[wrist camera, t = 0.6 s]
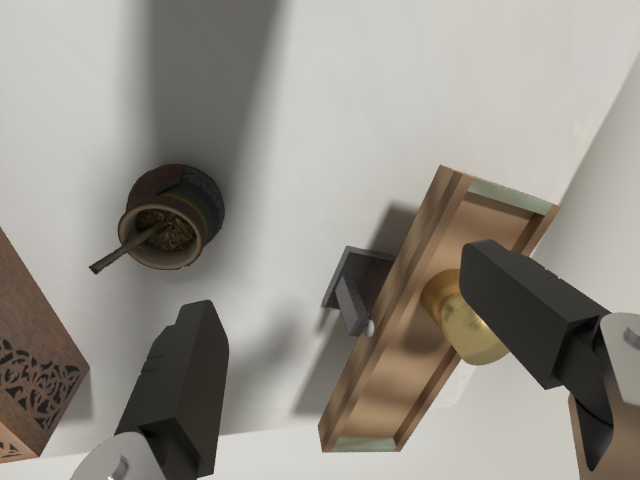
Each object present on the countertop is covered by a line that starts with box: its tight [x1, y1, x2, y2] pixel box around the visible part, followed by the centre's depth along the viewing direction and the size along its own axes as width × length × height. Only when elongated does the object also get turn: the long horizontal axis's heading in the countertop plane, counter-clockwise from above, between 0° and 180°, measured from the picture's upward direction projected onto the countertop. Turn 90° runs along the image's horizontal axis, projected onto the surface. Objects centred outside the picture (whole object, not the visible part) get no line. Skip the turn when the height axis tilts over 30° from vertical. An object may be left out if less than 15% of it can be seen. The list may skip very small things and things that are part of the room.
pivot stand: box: [323, 246, 397, 336], centre depth 34 cm, size 8×14×8 cm, turn 71°
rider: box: [421, 269, 510, 365], centre depth 25 cm, size 5×5×6 cm
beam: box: [318, 165, 561, 452], centre depth 30 cm, size 32×10×3 cm, turn 161°
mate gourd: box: [89, 164, 225, 275], centre depth 23 cm, size 7×8×10 cm
